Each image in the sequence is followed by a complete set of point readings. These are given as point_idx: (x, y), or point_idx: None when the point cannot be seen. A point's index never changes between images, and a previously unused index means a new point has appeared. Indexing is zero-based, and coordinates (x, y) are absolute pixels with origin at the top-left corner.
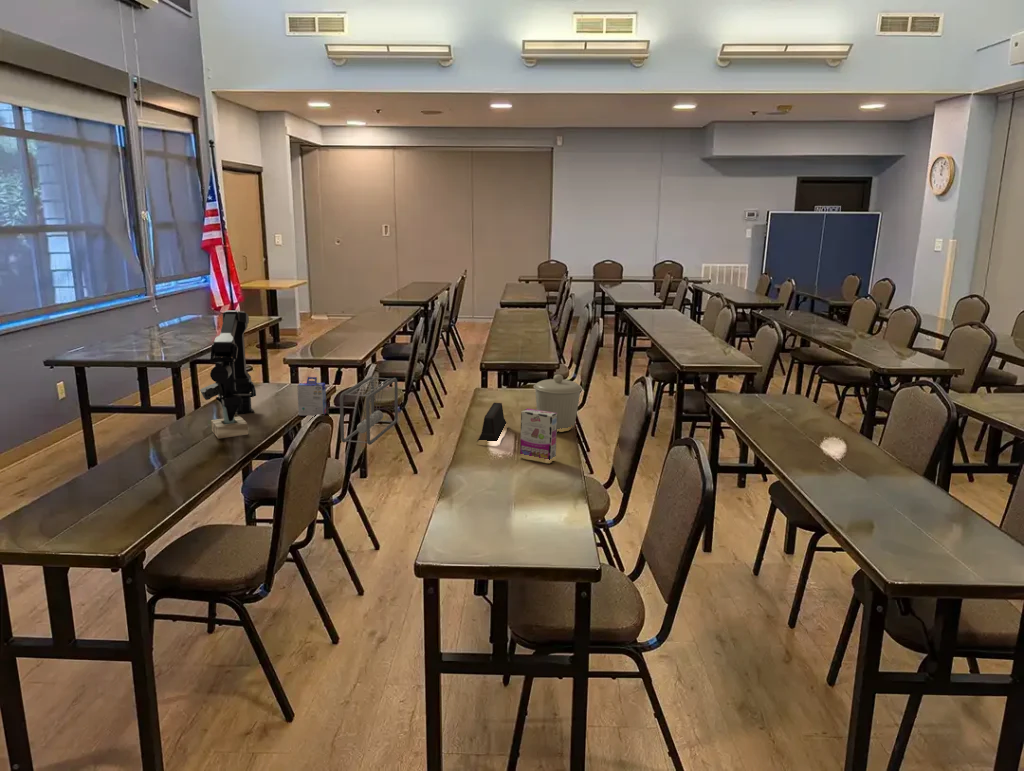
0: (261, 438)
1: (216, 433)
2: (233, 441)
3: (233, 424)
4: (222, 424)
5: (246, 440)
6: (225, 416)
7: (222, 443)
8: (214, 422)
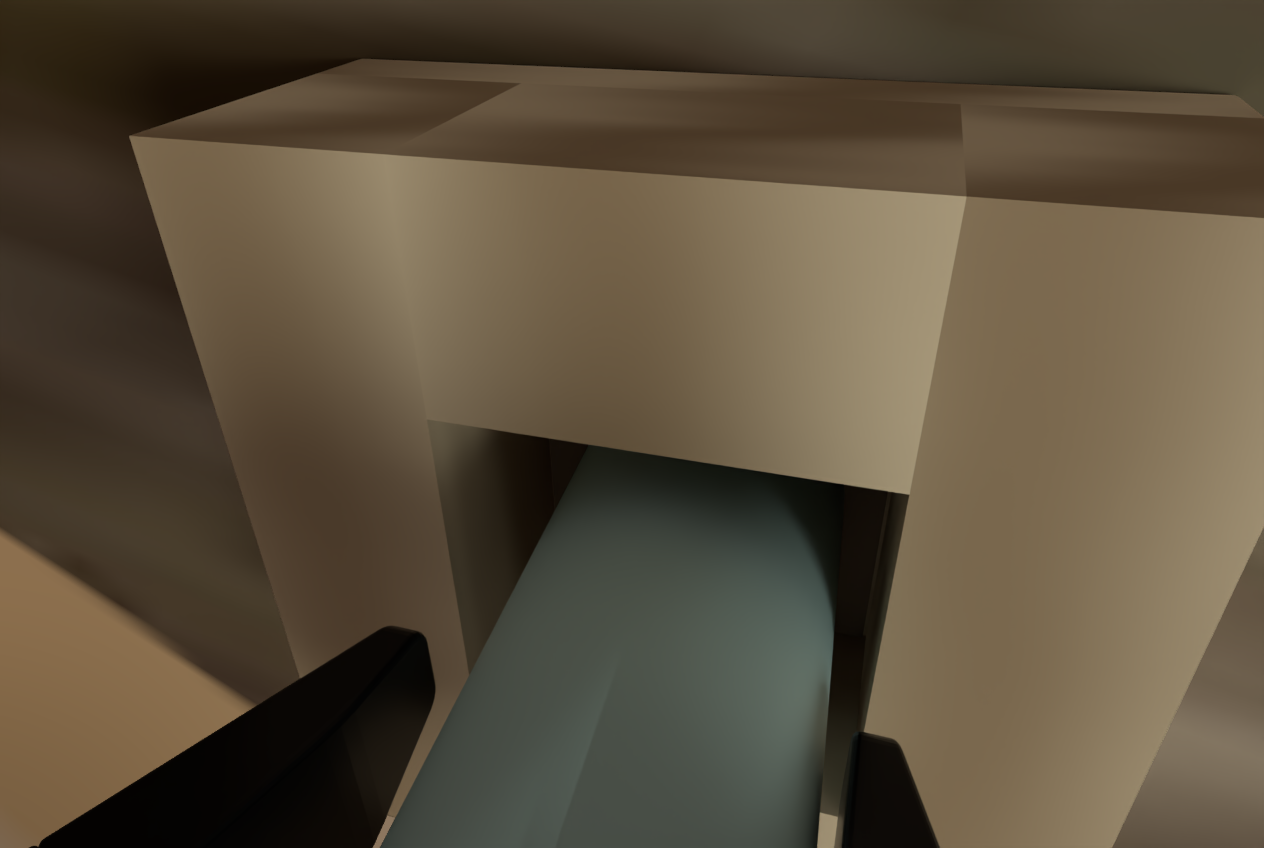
0: (201, 647)
1: (498, 85)
2: (114, 281)
3: (340, 597)
4: (441, 387)
5: (141, 469)
6: (478, 703)
7: (9, 46)
8: (841, 240)
